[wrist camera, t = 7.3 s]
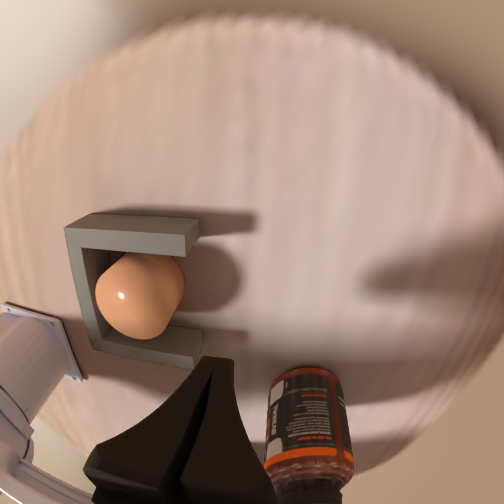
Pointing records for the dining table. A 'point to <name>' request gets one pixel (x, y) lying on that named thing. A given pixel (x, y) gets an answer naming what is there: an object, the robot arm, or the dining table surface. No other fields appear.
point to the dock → (97, 262)
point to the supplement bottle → (308, 438)
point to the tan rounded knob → (140, 293)
